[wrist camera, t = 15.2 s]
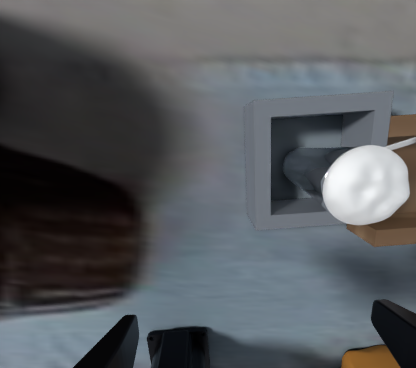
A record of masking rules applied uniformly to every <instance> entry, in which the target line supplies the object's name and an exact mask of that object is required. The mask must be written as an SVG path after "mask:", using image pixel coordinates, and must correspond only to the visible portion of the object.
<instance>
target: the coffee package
mask: <svg viewBox="0 0 416 368" xmlns="http://www.w3.org/2000/svg"><path fill="white" fill-rule="evenodd" d="M341 368H400V366H399V365H398V363H397V362H396V360H395V359H394V357H393V355H392V354H391V352H390V351H389V349H388V348H387V346H386V345H377V346H372V347H369V348H365V349H361V350H354V351H347V352H346V353H345V354H344V356H343V357H342V365H341Z"/></svg>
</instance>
